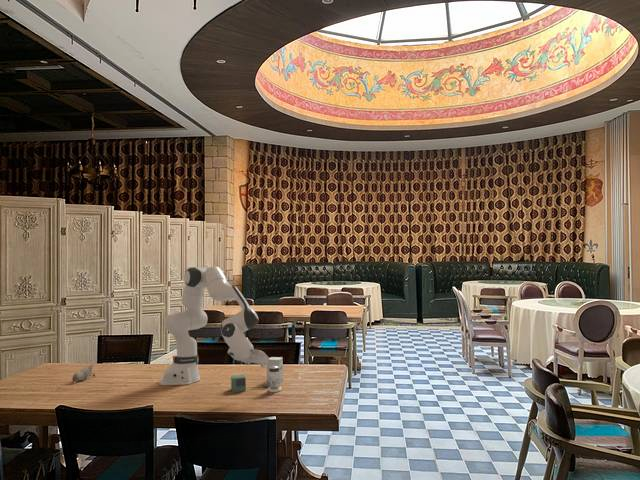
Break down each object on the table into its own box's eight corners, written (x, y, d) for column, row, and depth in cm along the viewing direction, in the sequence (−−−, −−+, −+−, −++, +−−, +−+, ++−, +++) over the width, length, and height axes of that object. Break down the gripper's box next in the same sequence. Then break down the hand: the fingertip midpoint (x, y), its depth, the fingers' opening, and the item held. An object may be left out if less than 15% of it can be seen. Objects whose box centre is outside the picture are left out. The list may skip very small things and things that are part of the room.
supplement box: (279, 383, 275) (279, 359, 275) (266, 382, 276) (266, 359, 277) (283, 379, 282) (283, 357, 282) (270, 379, 284) (270, 356, 284)
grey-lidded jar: (270, 389, 258) (269, 368, 258) (268, 387, 263) (268, 365, 263) (280, 388, 259) (279, 367, 259) (278, 386, 264) (278, 365, 265)
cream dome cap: (269, 392, 257) (269, 390, 257) (267, 389, 264) (267, 386, 264) (282, 391, 259) (282, 389, 259) (280, 388, 265) (280, 385, 265)
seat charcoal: (264, 388, 265) (264, 386, 265) (262, 384, 272) (262, 382, 272) (277, 387, 267) (277, 384, 267) (275, 383, 274) (275, 381, 274)
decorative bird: (69, 384, 285) (69, 370, 285) (89, 377, 300) (88, 364, 300) (77, 384, 283) (77, 371, 284) (96, 377, 299) (96, 364, 299)
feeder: (232, 392, 259) (231, 378, 259) (231, 389, 266) (230, 375, 266) (245, 391, 261) (245, 377, 261) (244, 387, 267) (244, 374, 267)
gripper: (263, 345, 239) (276, 362, 248) (230, 341, 250) (243, 357, 258) (258, 357, 236) (270, 373, 244) (224, 352, 246) (237, 367, 255)
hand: (256, 365), depth 251 cm, fingers open, 8 cm apart
